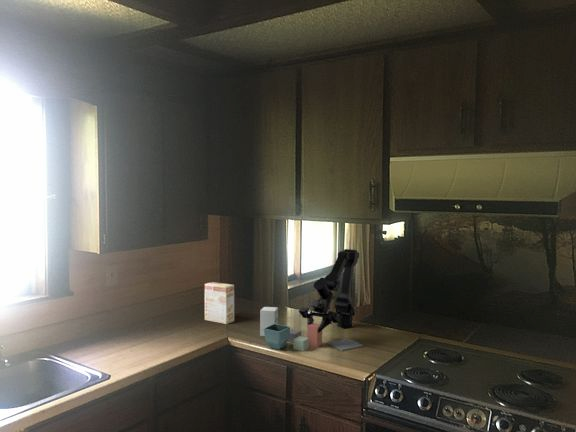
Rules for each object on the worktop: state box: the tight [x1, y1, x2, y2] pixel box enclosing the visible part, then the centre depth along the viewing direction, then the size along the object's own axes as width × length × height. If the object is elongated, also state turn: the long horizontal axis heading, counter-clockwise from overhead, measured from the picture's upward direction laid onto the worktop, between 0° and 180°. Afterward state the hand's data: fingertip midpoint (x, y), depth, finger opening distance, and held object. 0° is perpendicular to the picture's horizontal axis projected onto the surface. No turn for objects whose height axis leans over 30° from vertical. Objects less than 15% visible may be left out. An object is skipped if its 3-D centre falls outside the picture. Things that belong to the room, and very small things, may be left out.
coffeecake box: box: [204, 281, 235, 325], centre depth 262 cm, size 15×7×20 cm, turn 58°
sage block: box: [292, 336, 310, 352], centre depth 220 cm, size 5×5×4 cm
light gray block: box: [287, 329, 302, 344], centre depth 230 cm, size 5×5×4 cm
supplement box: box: [259, 306, 279, 337], centre depth 239 cm, size 7×7×13 cm
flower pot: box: [264, 323, 291, 350], centre depth 221 cm, size 9×9×9 cm
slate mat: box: [326, 338, 364, 352], centre depth 225 cm, size 12×11×1 cm
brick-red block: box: [306, 322, 323, 348], centre depth 224 cm, size 5×5×9 cm
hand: (313, 331), depth 223 cm, fingers closed on brick-red block, 5 cm apart
